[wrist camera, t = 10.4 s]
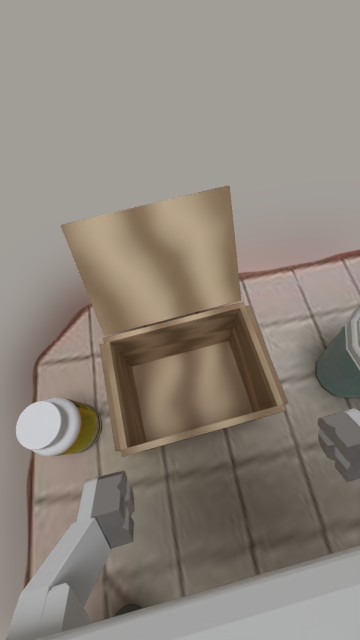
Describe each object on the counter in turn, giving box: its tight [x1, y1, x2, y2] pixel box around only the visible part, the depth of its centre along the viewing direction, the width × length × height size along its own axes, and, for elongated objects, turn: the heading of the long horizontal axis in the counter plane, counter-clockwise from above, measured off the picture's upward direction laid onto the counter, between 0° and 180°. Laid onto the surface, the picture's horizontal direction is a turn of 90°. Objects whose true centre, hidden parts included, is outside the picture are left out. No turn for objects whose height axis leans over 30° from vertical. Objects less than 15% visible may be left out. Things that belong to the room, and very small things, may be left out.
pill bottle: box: [16, 398, 101, 456], centre depth 33 cm, size 6×6×11 cm
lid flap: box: [61, 186, 241, 336], centre depth 28 cm, size 16×12×1 cm
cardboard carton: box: [99, 302, 288, 457], centre depth 34 cm, size 17×12×12 cm
